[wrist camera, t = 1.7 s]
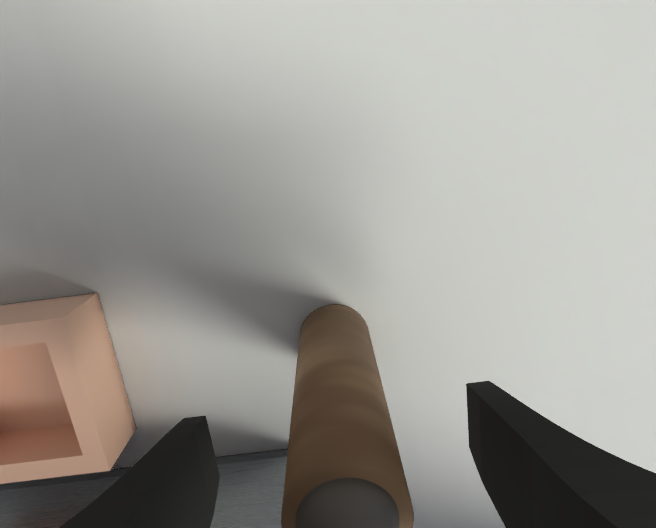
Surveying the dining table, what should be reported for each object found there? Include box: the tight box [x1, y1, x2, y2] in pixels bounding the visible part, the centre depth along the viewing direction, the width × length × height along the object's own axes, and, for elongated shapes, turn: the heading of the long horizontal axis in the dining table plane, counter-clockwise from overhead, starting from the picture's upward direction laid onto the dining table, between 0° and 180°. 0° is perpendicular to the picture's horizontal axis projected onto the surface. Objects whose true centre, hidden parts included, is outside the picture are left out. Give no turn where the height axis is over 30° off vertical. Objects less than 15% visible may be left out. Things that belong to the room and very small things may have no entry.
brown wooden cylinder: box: [281, 305, 414, 528], centre depth 13 cm, size 3×3×10 cm
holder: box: [0, 293, 136, 484], centre depth 17 cm, size 6×6×2 cm
